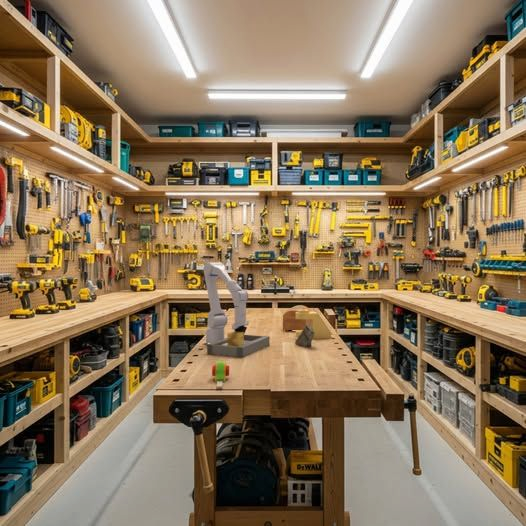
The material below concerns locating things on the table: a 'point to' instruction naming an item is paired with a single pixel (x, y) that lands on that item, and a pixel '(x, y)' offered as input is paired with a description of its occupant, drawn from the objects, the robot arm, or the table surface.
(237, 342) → the block
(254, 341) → the trap track
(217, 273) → the robot arm
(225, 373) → the toy measuring tape
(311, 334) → the concrete fragment
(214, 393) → the table surface
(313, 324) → the pale yellow sloped piece
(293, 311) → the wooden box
